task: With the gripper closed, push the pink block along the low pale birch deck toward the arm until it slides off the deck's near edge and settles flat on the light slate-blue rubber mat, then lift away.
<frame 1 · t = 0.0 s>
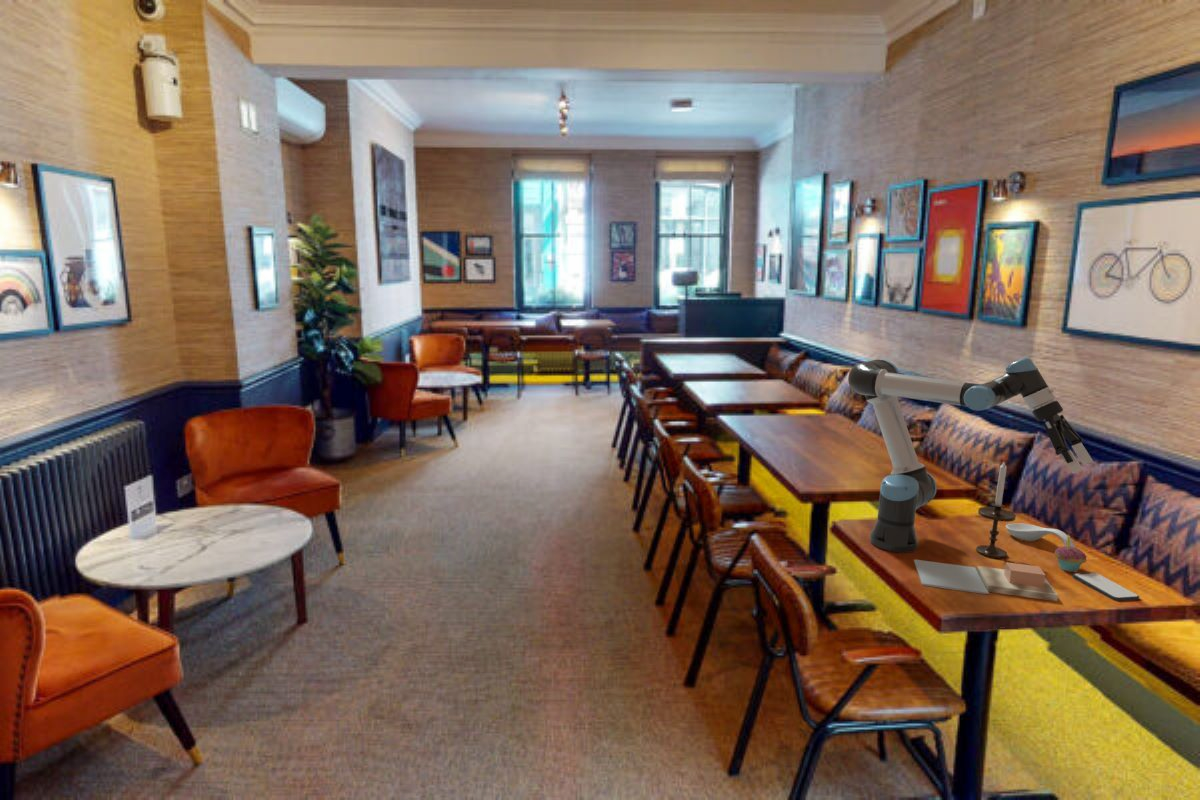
hand: (1083, 467, 205), 36 cm above the table, tool tilted 35°, fingers open, 13 cm apart
candlestick: (991, 553, 230), on the table
deck: (1015, 585, 207), on the table
spoon rest: (1039, 544, 239), on the table
pink block: (1023, 580, 206), point 2 cm above the table, touching deck
phone case: (1104, 589, 207), on the table
cupcake: (1067, 569, 220), on the table
mat: (949, 576, 212), on the table
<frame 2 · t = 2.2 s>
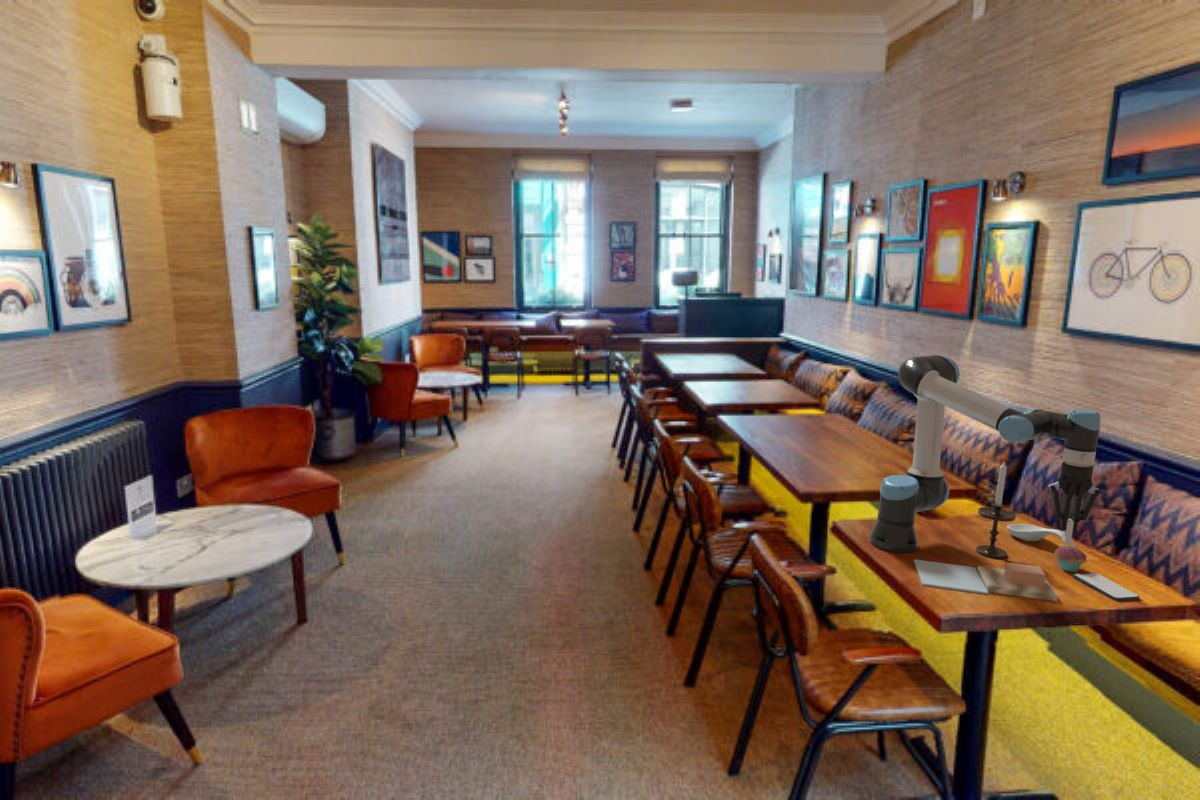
hand: (1066, 541, 200), 16 cm above the table, tool pointing down, fingers closed
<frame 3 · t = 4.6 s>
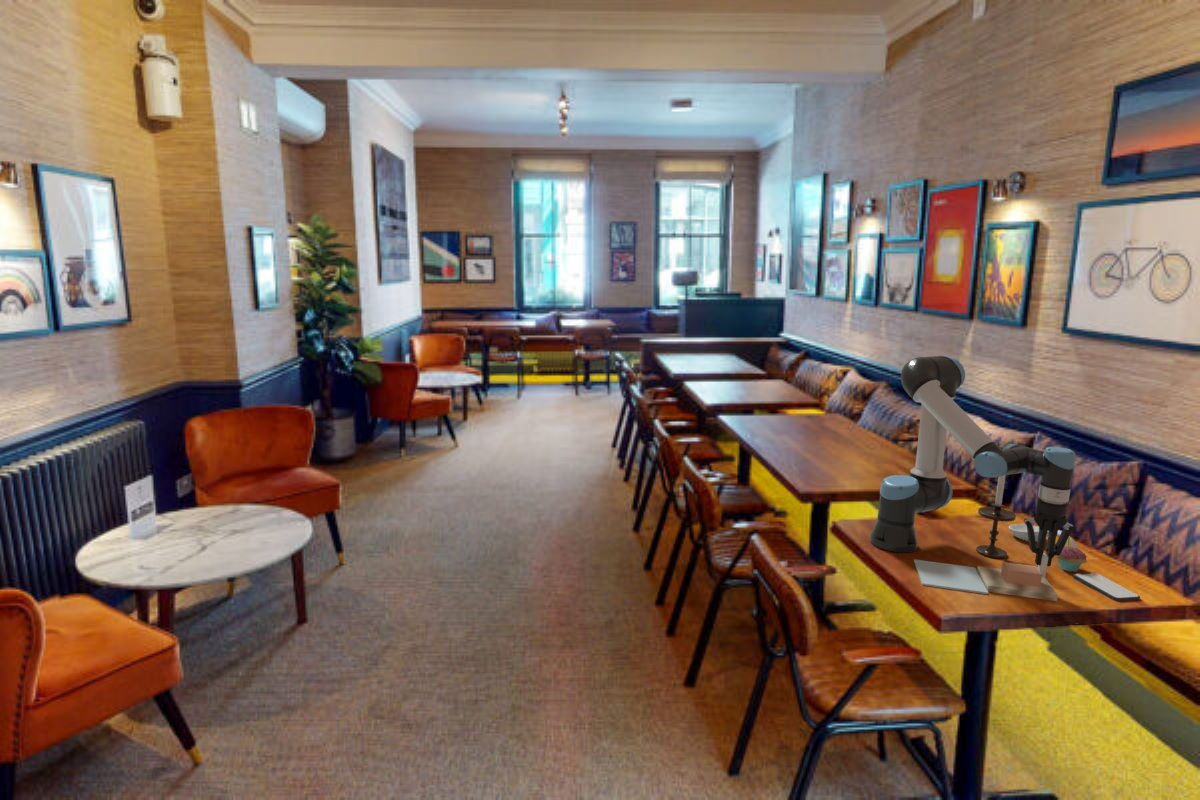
hand: (1040, 575, 204), 4 cm above the table, tool pointing down, fingers closed
pink block: (1020, 580, 206), point 2 cm above the table, touching deck, gripper
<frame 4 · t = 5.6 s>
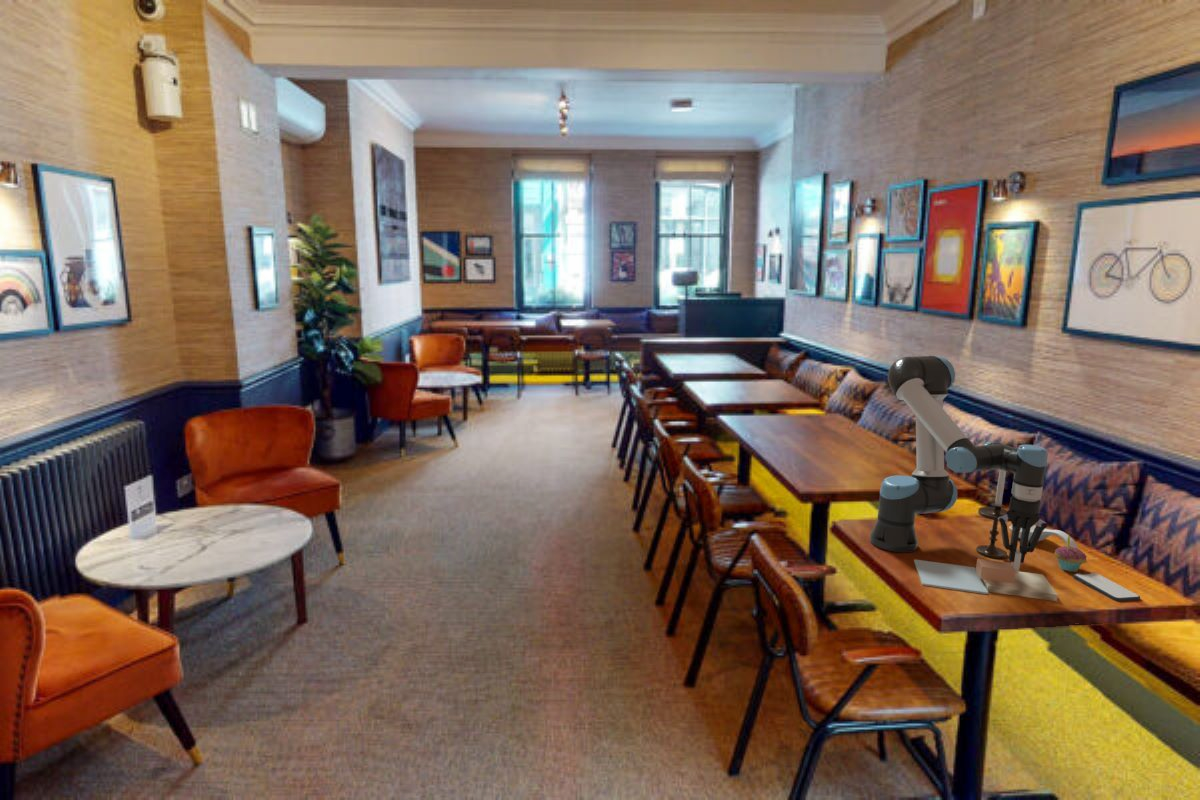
hand: (1014, 571, 206), 4 cm above the table, tool pointing down, fingers closed
pink block: (994, 576, 208), point 2 cm above the table, touching gripper
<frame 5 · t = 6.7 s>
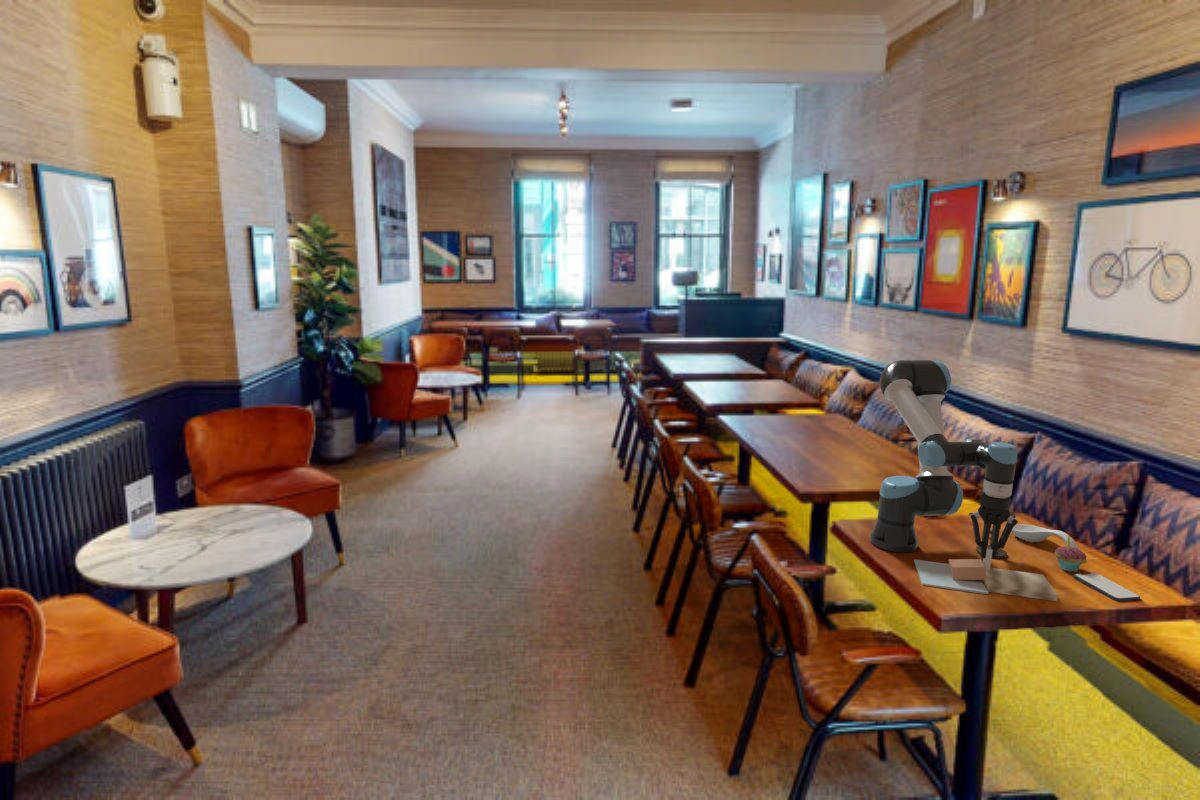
hand: (985, 567, 208), 4 cm above the table, tool pointing down, fingers closed
pink block: (967, 575, 210), point 1 cm above the table, tilted 9°, touching deck, gripper, mat
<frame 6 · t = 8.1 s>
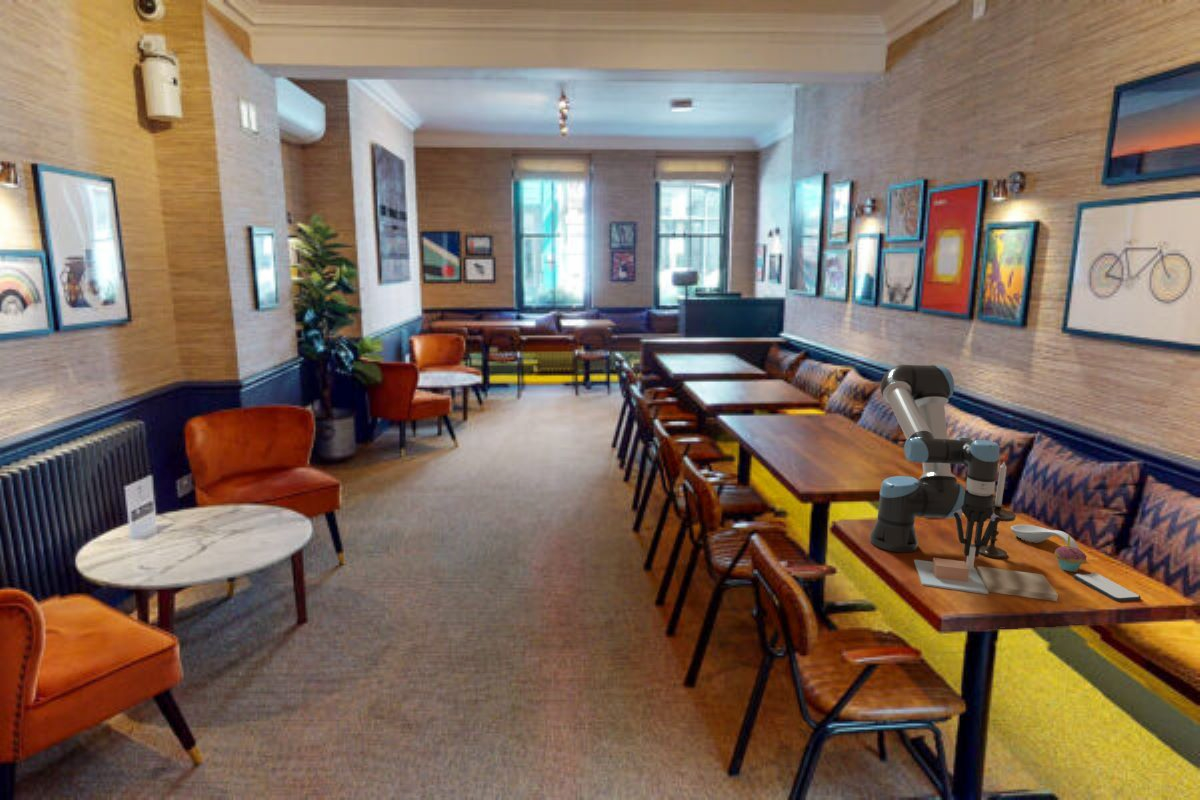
hand: (969, 565, 209), 5 cm above the table, tool pointing down, fingers closed
pink block: (949, 575, 211), point 1 cm above the table, touching gripper, mat
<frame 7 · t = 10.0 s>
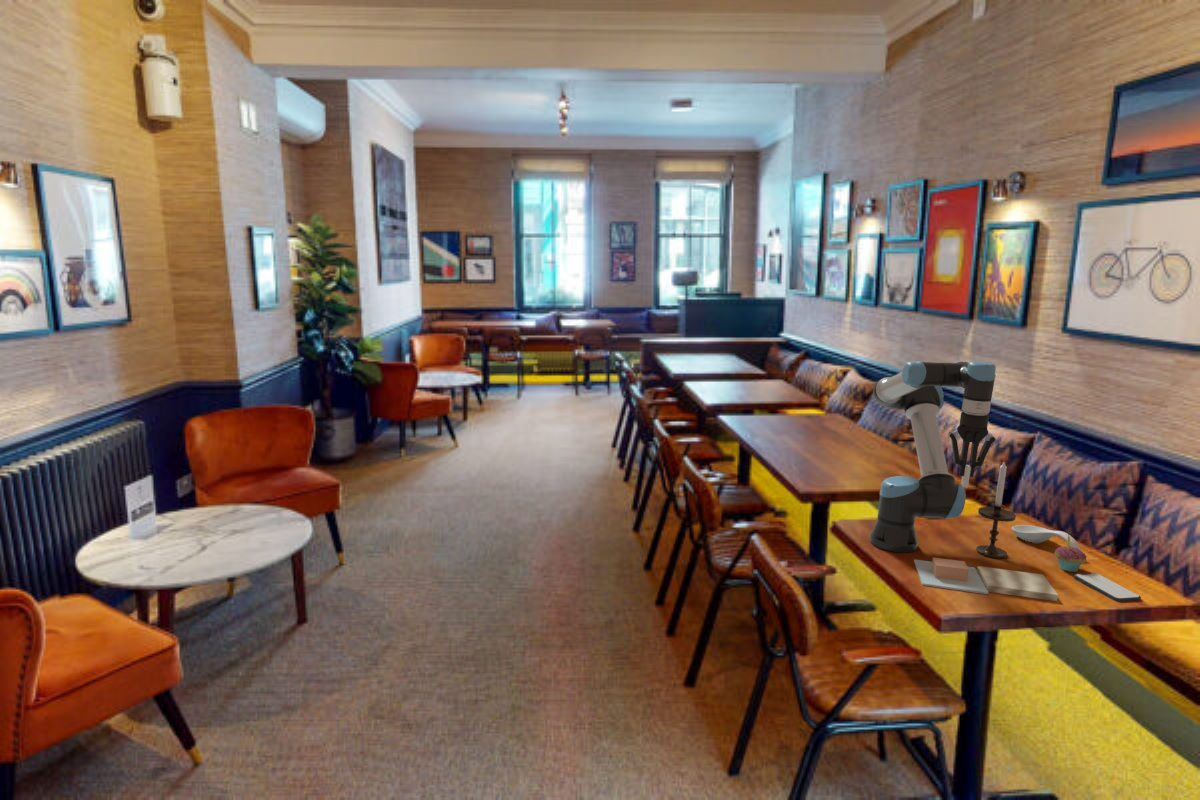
hand: (964, 485, 213), 27 cm above the table, tool pointing down, fingers closed
pink block: (949, 575, 211), point 1 cm above the table, touching mat
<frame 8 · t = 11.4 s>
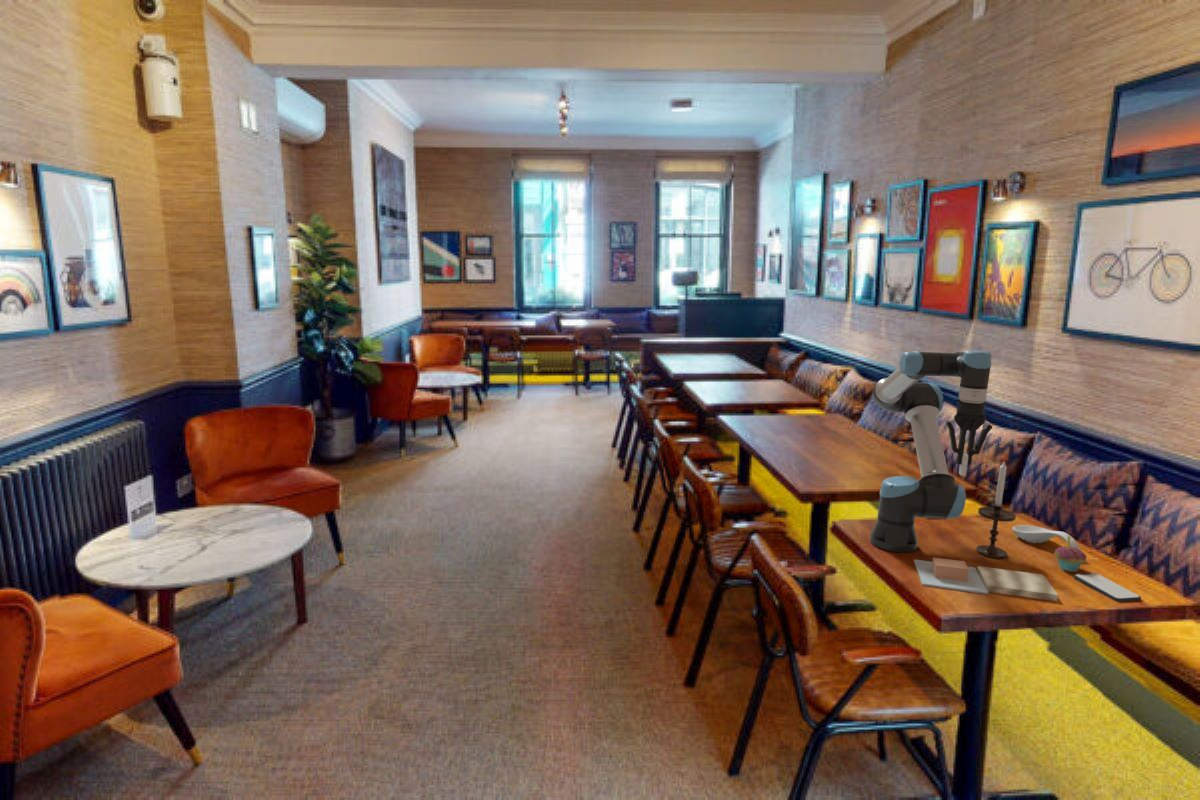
hand: (962, 474, 215), 30 cm above the table, tool pointing down, fingers closed
at the end: pink block point 0.6 cm above the table; pink block inside the target area (0.5 cm from its centre), point 0.6 cm above the table; pink block tilted 0° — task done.
